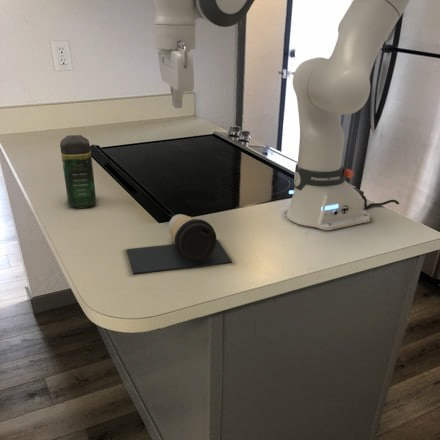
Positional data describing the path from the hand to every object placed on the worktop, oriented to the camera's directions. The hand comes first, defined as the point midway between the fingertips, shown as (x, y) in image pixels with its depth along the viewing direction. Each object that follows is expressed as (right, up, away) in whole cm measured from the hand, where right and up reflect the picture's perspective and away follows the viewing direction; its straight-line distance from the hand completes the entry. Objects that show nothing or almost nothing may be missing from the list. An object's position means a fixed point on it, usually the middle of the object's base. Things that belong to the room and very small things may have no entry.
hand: (177, 107), depth 113 cm
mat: (0, -35, -1) cm, 35 cm away
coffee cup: (0, -27, +5) cm, 27 cm away
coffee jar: (-30, -17, +27) cm, 44 cm away
